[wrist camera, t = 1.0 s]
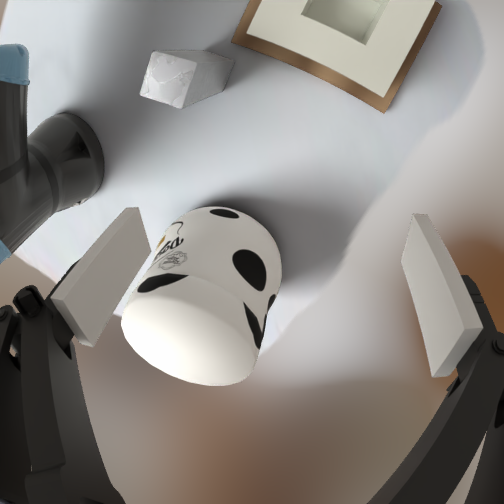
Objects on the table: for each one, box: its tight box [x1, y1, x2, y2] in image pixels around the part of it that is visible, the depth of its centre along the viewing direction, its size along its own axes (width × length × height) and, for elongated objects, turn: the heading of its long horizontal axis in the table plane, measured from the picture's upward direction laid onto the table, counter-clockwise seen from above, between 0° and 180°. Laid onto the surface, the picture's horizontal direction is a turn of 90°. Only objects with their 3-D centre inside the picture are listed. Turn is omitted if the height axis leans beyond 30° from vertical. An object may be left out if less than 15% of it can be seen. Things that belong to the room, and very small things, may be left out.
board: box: [231, 0, 442, 114], centre depth 22 cm, size 18×16×1 cm
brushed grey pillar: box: [140, 50, 235, 109], centre depth 24 cm, size 4×4×12 cm
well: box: [247, 0, 435, 98], centre depth 19 cm, size 13×13×6 cm
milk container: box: [121, 207, 282, 386], centre depth 37 cm, size 17×17×18 cm
